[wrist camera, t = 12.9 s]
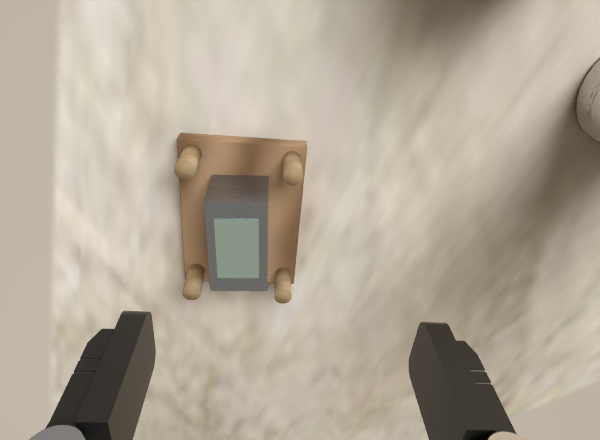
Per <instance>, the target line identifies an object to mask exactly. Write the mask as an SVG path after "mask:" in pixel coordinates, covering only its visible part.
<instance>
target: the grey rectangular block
mask: <svg viewBox="0 0 600 440" xmlns="http://www.w3.org/2000/svg"><path fill="white" fill-rule="evenodd" d="M268 206H269V176H256V175H212V176H211V180H210V183H209V186H208V190H207V193H206V197H205V200H204V209H205V222H206V236H207V249H208V262H209V276H210V289H211V290H214V291H267V273H268Z"/></svg>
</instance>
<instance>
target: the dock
mask: <svg viewBox="0 0 600 440" xmlns="http://www.w3.org/2000/svg"><path fill="white" fill-rule="evenodd" d="M177 146H178V162H177V164H176V166H175V173H176V175H177V176H178V177H179V180H180V197H181V214H182V232H183V249H184V266H185V279H186V281H185V285H184V288H183V292H182V294H183V296H184V297H185V298H186V299H189V300H195V299H197V298H198V297H199V296H200V291H201V287H202V283H203V280H210V276H209V262H208V249H207V236H206V222H205V209H204V200H205V197H206V193H207V190H208V186H209V183H210V180H211V176H212V175H256V176H269V206H268V273H267V283H275V300H276V301H277V302H279V303H287V302H289V301H290V300H291V284H294V274H295V264H296V254H297V244H298V234H299V223H300V213H301V203H302V193H303V183H304V173H305V162H306V152H307V144H306V141H295V140H279V139H264V138H249V137H233V136H218V135H203V134H188V133H180V135H179V137H178V139H177Z"/></svg>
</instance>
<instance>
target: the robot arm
mask: <svg viewBox="0 0 600 440" xmlns="http://www.w3.org/2000/svg"><path fill="white" fill-rule="evenodd" d="M576 112H577V119H578V121H579V124H580V126H581V128H582V129H583V130H584V131H585V132H586V134H588V135H589V136H591V137H592V138H594V139H596V140H597V141H599V142H600V60H599V61H598V62H597V63H596V64H595V65H594V66H593V67H592V69H591V70H590V72H589V73H588V74H587V76H586V77H585V79H584V81H583V83H582V85H581V87H580V91H579V94H578V97H577V105H576ZM154 363H155V340H154V332H153V323H152V315H151V313H150V312H140V311H123V312H122V314H121V316H120V318H119V320H118V322H117V325H116V327H115V329H101V330H100V331H99V332H98V333H97V334H96V335H95V336H94V337H93V338H92V339H91V340H90V341H89V342H88V343H87V345H86V347H85V349H84V351H83V354H82V356H81V358H80V361H79V362H78V364H77V366H76V368H75V370H74V374H72V376H71V378H70V380H69V383H68V385H67V387H66V389H65V391H64V393H63V395H62V397H61V399H60V401H59V403H58V405H57V407H56V409H55V411H54V414H53V416H52V418H51V420H50V422H49V423H48V425H47V427H46V428H45V429H44V430H42V431H40V432H38V433H37V434H35V435H34V436H33V437H31V438H30V439H29V440H133V436H134V433H135V430H136V426H137V423H138V420H139V416H140V413H141V409H142V406H143V403H144V399H145V396H146V393H147V389H148V386H149V382H150V379H151V376H152V372H153V369H154ZM409 374H410V379H411V382H412V385H413V389H414V392H415V395H416V398H417V402H418V405H419V408H420V411H421V415H422V418H423V421H424V424H425V428H426V431H427V434H428V437H429V440H526V439H524V438H523V437H521V436H519V435H517V434H516V432H515V430H514V428H513V426H512V424H511V422H510V420H509V418H508V416H507V414H506V412H505V410H504V408H503V406H502V404H501V402H500V400H499V398H498V396H497V394H496V392H495V390H494V387H493V385H491V381H490V379H489V377H488V375H487V373H485V369H484V367H483V365H482V363H481V361H480V359H479V357H478V355H477V354H476V353H475V352H474V351H473V350H472V348H471V347H470V346H469V345H468V344H467V343H466V342H465V341H456V340H455V338H454V336H453V334H452V331H451V329H450V327H449V325H448V324H447V323H433V322H421V323H420V325H419V327H418V330H417V333H416V337H415V340H414V343H413V347H412V350H411V354H410V357H409Z"/></svg>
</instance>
